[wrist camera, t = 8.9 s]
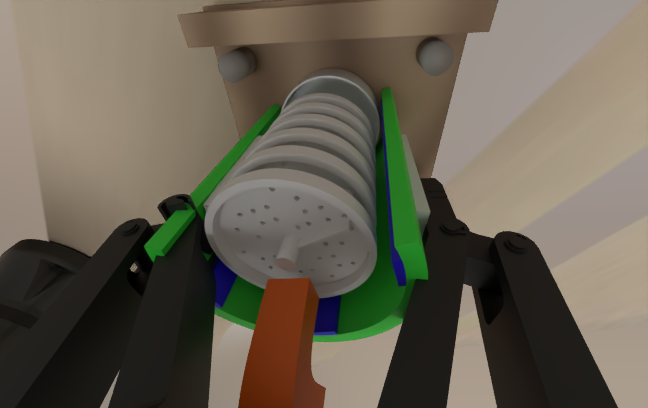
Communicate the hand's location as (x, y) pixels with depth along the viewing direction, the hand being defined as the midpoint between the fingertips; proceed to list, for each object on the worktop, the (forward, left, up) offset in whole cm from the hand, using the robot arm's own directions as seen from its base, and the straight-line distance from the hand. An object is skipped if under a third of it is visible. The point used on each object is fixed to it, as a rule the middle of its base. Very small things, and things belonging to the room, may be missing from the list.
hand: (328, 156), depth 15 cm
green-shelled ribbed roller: (0, 0, -5) cm, 5 cm away
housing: (0, 0, -7) cm, 7 cm away
